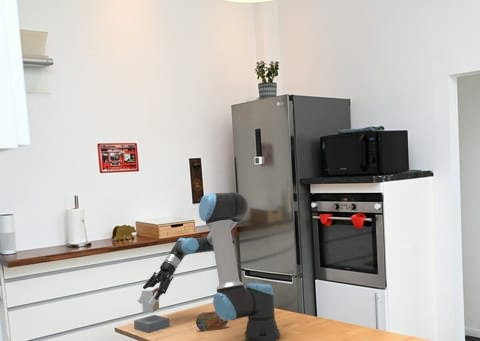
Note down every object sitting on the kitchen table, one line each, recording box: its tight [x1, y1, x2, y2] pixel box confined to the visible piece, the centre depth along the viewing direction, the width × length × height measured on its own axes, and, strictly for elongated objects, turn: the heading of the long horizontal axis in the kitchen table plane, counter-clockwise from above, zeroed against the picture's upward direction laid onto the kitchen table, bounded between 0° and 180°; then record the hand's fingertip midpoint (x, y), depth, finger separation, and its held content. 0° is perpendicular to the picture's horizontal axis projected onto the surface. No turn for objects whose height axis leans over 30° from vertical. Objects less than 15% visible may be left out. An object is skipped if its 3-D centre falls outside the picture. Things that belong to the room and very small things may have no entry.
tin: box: [195, 310, 229, 332], centre depth 225 cm, size 15×3×8 cm, turn 105°
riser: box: [133, 314, 170, 334], centre depth 233 cm, size 12×12×4 cm
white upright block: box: [141, 286, 160, 313], centre depth 234 cm, size 8×6×10 cm
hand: (145, 303), depth 231 cm, fingers closed on white upright block, 9 cm apart
